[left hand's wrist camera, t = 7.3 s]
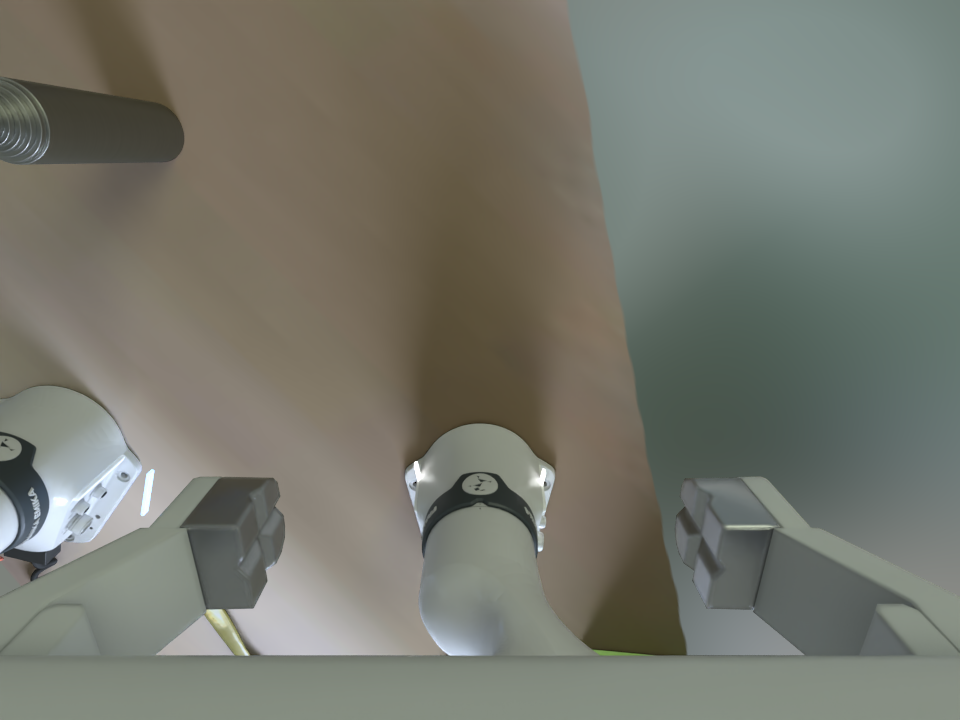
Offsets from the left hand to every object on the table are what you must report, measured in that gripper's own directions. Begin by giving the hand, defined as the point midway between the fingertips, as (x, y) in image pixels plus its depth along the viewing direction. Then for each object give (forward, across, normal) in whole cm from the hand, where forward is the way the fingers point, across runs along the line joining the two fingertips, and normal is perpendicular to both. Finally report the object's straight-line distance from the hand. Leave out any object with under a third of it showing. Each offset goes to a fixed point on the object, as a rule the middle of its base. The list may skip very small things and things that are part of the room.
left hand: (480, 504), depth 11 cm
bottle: (+48, -32, +9) cm, 58 cm away
